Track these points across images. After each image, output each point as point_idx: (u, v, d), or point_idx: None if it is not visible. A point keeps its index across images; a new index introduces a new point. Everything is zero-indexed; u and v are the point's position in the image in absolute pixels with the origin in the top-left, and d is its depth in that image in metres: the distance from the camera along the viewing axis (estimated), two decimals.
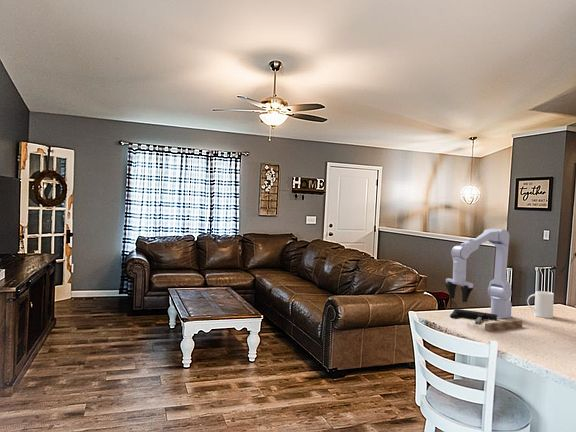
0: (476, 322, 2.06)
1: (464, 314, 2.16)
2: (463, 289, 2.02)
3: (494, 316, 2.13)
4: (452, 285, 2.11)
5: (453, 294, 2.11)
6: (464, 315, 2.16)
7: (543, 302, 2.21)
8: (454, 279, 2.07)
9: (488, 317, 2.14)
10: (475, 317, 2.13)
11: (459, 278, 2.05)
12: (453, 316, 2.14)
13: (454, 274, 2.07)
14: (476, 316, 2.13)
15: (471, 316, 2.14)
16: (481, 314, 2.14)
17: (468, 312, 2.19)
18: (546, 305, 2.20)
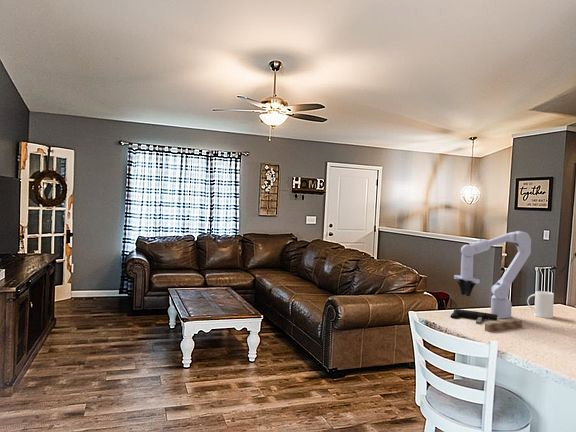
0: (477, 322, 2.05)
1: (464, 314, 2.16)
2: (467, 284, 2.20)
3: (494, 316, 2.13)
4: (463, 282, 2.25)
5: (464, 290, 2.25)
6: (464, 315, 2.15)
7: (543, 302, 2.21)
8: (462, 276, 2.23)
9: (488, 317, 2.14)
10: (475, 317, 2.13)
11: (466, 275, 2.21)
12: (454, 316, 2.14)
13: (462, 271, 2.23)
14: (476, 316, 2.13)
15: (471, 316, 2.14)
16: (481, 314, 2.13)
17: (468, 312, 2.19)
18: (546, 305, 2.20)
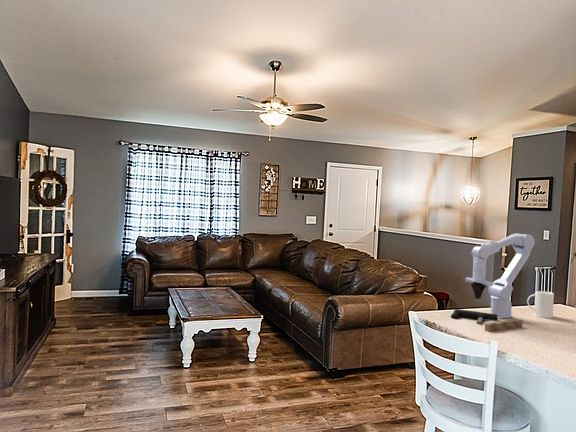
0: (477, 322, 2.05)
1: (464, 314, 2.15)
2: (477, 286, 2.14)
3: (495, 316, 2.12)
4: None
5: None
6: (465, 315, 2.15)
7: (543, 302, 2.21)
8: (474, 278, 2.16)
9: (488, 317, 2.14)
10: (476, 317, 2.13)
11: (479, 277, 2.14)
12: (454, 316, 2.14)
13: (474, 273, 2.16)
14: (477, 316, 2.12)
15: (472, 316, 2.14)
16: (482, 314, 2.13)
17: (468, 312, 2.18)
18: (546, 305, 2.20)
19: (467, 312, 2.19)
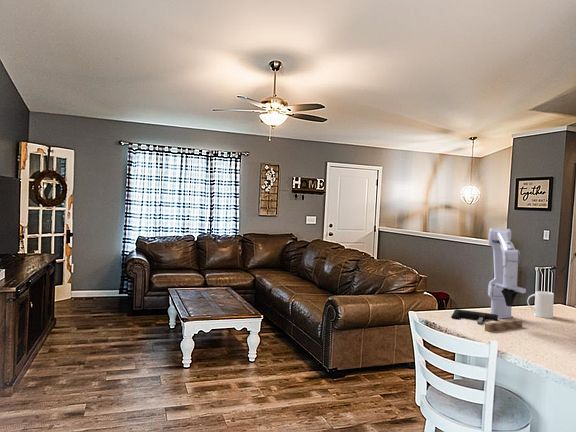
0: (478, 323, 2.05)
1: (465, 315, 2.15)
2: (508, 293, 1.99)
3: (495, 316, 2.12)
4: None
5: None
6: (465, 316, 2.15)
7: (543, 302, 2.21)
8: (505, 284, 2.01)
9: (489, 317, 2.13)
10: (476, 317, 2.12)
11: (510, 283, 1.99)
12: (454, 317, 2.13)
13: (505, 279, 2.01)
14: (477, 316, 2.12)
15: (472, 316, 2.13)
16: (482, 314, 2.13)
17: (469, 312, 2.18)
18: (546, 305, 2.20)
19: (467, 312, 2.18)
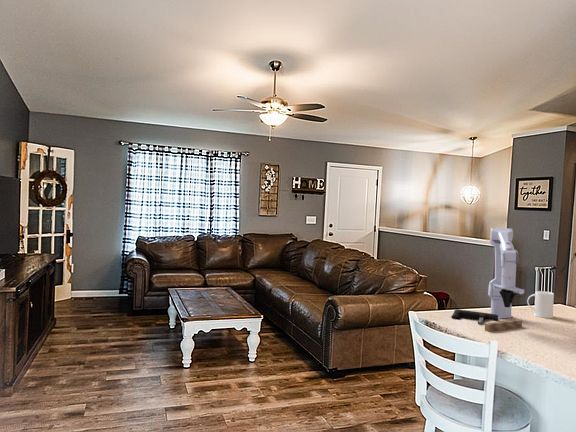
0: (479, 323, 2.04)
1: (465, 315, 2.15)
2: (507, 294, 1.97)
3: (495, 316, 2.12)
4: None
5: None
6: (465, 316, 2.15)
7: (543, 302, 2.21)
8: (503, 285, 1.98)
9: (489, 317, 2.13)
10: (477, 318, 2.12)
11: (508, 284, 1.96)
12: (455, 317, 2.13)
13: (503, 280, 1.98)
14: (478, 317, 2.12)
15: (473, 317, 2.13)
16: (482, 314, 2.13)
17: (469, 312, 2.18)
18: (546, 305, 2.20)
19: (467, 312, 2.18)
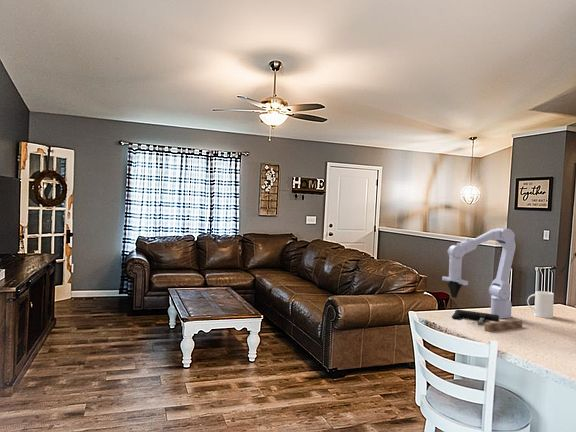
0: (479, 323, 2.04)
1: (466, 315, 2.14)
2: (453, 285, 2.15)
3: (496, 317, 2.11)
4: None
5: None
6: (466, 316, 2.14)
7: (543, 302, 2.21)
8: (450, 277, 2.17)
9: (490, 317, 2.13)
10: (477, 318, 2.12)
11: (454, 276, 2.15)
12: (455, 317, 2.13)
13: (450, 272, 2.17)
14: (478, 317, 2.11)
15: (473, 317, 2.12)
16: (483, 315, 2.12)
17: (470, 313, 2.17)
18: (546, 305, 2.20)
19: (468, 313, 2.18)
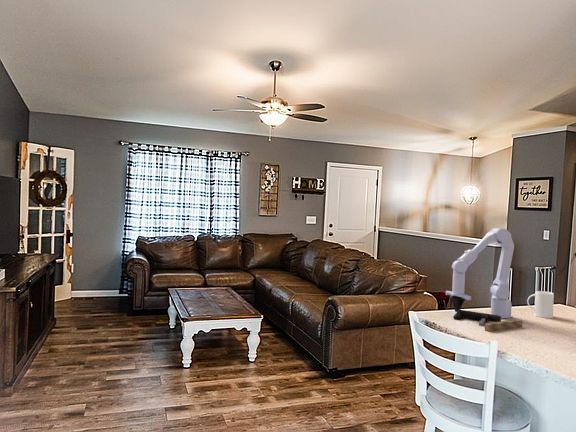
0: (480, 324, 2.03)
1: (467, 315, 2.13)
2: (456, 300, 2.20)
3: (498, 317, 2.10)
4: None
5: None
6: (468, 316, 2.13)
7: (543, 302, 2.21)
8: (453, 292, 2.21)
9: (492, 318, 2.11)
10: (479, 318, 2.10)
11: (458, 291, 2.19)
12: (456, 317, 2.12)
13: (453, 287, 2.21)
14: (480, 317, 2.10)
15: (475, 317, 2.11)
16: (485, 315, 2.11)
17: (472, 313, 2.16)
18: (546, 305, 2.20)
19: (470, 313, 2.16)
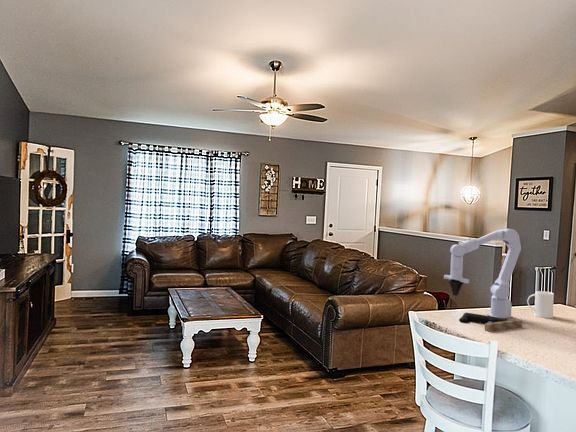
0: None
1: (474, 318, 2.08)
2: (454, 283, 2.21)
3: None
4: None
5: None
6: (474, 319, 2.08)
7: (543, 302, 2.21)
8: (451, 275, 2.22)
9: (499, 321, 2.06)
10: (485, 321, 2.05)
11: (456, 274, 2.21)
12: (462, 320, 2.07)
13: (451, 271, 2.22)
14: (486, 320, 2.05)
15: (481, 320, 2.06)
16: (492, 318, 2.06)
17: (478, 316, 2.11)
18: (546, 305, 2.20)
19: (477, 316, 2.11)
